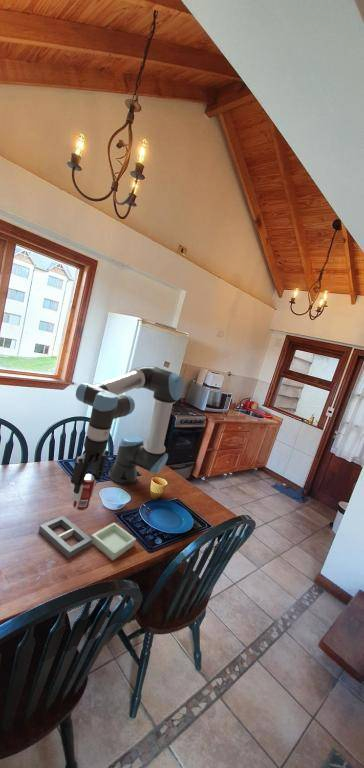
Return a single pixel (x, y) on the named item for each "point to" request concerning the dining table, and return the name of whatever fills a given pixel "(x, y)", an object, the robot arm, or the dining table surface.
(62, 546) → the frame
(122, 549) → the tray
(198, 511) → the dining table surface
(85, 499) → the soda can
